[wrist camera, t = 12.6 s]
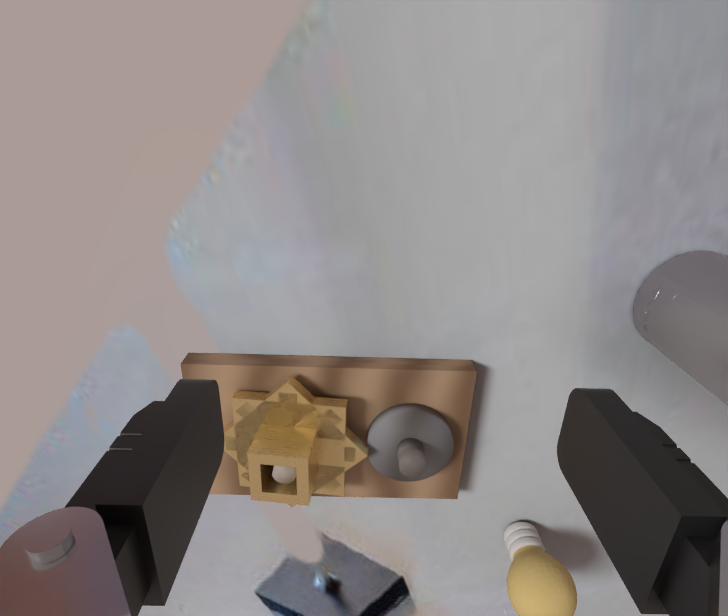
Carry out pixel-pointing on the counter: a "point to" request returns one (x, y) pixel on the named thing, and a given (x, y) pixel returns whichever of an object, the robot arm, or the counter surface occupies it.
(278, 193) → the counter surface
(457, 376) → the wooden peg board
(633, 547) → the robot arm
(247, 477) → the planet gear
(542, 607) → the light bulb
